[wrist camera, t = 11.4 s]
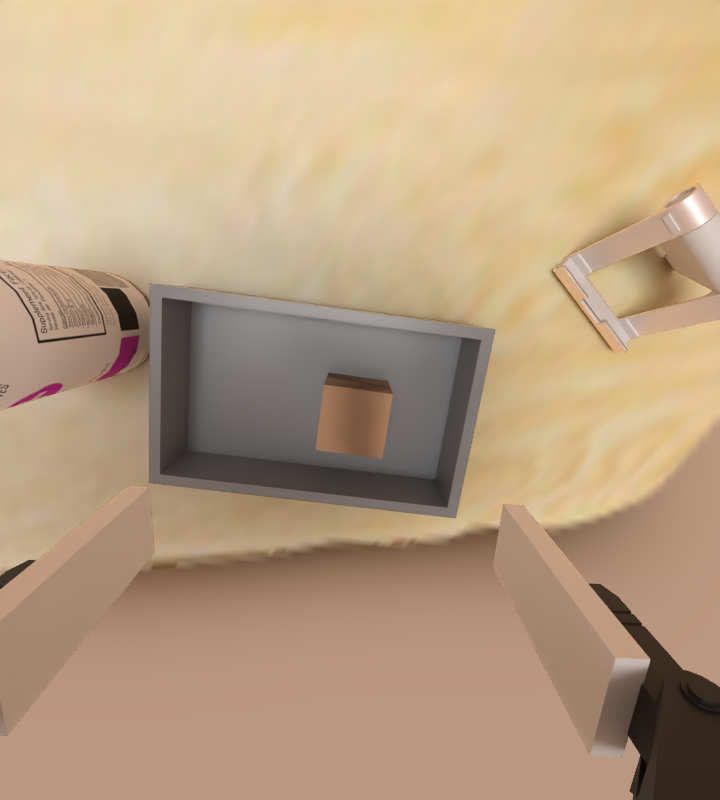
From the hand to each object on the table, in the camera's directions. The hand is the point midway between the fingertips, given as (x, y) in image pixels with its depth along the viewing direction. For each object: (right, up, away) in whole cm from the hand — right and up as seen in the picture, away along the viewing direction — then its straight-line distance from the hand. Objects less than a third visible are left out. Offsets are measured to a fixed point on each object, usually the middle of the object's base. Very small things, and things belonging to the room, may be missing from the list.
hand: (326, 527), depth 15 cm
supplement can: (-19, +11, +18) cm, 29 cm away
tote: (-2, +5, +20) cm, 20 cm away
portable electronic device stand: (+22, +15, +18) cm, 32 cm away
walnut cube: (+1, +4, +19) cm, 20 cm away
